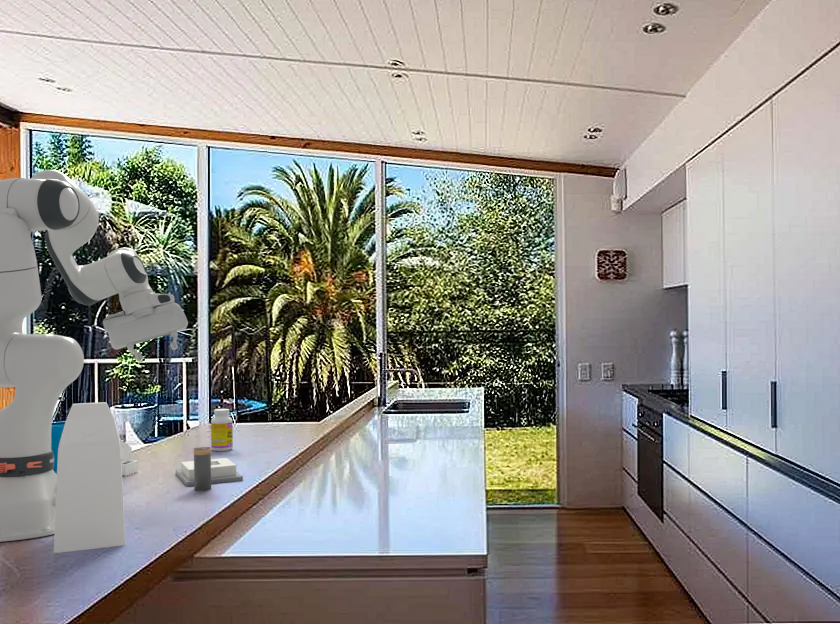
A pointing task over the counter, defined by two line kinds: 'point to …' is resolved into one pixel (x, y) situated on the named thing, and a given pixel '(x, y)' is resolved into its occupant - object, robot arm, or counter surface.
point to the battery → (202, 468)
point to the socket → (219, 472)
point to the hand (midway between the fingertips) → (157, 354)
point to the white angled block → (127, 459)
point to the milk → (89, 481)
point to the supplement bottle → (221, 431)
